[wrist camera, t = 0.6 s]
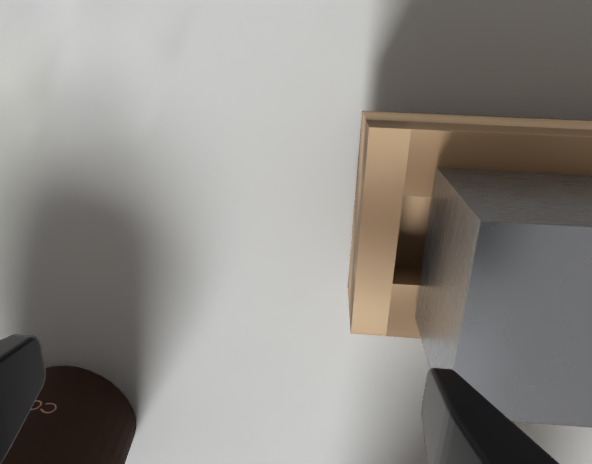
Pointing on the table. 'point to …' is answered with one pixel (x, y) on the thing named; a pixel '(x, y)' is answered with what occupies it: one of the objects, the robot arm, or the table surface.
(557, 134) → the light wood rectangular frame
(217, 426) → the table surface
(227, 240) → the table surface
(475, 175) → the grey block
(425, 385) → the robot arm
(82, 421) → the coffee mug
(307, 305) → the table surface
